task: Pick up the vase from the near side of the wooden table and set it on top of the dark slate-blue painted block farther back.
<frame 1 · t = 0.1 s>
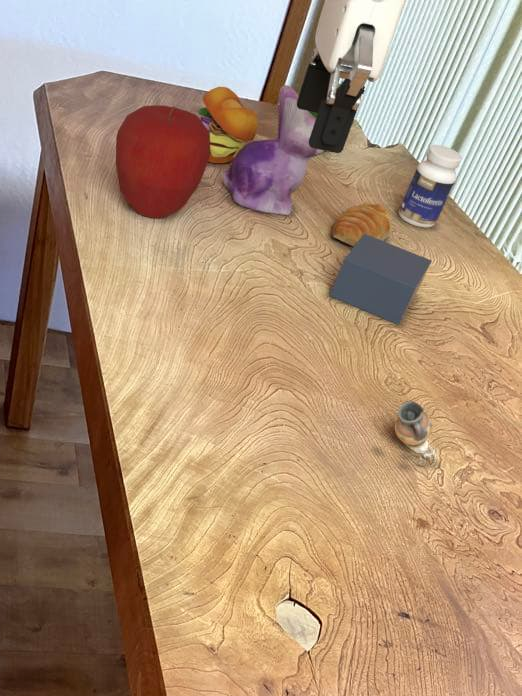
hand: (317, 129, 85), 22 cm above the table, tool pointing down, fingers open, 9 cm apart
figurine: (261, 202, 126), on the table
apple: (149, 211, 117), on the table
pastry: (358, 237, 123), on the table
bell pepper: (310, 146, 145), on the table
pill bottle: (415, 220, 131), on the table
block: (373, 296, 111), on the table
vase: (398, 452, 89), on the table
cheeseburger: (210, 154, 134), on the table
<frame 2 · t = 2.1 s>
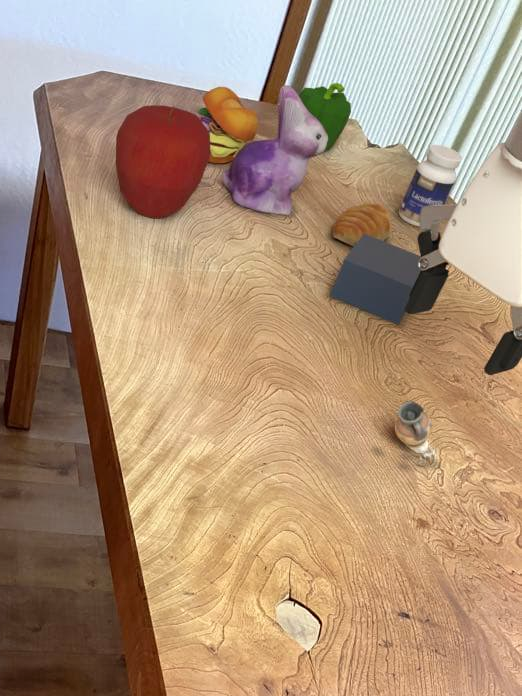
hand: (455, 340, 80), 13 cm above the table, tool pointing down, fingers open, 9 cm apart
nothing on the table moved.
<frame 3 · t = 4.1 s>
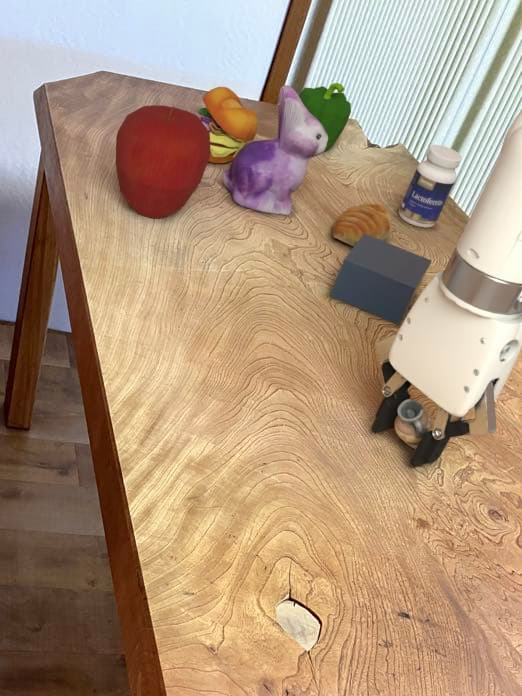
hand: (402, 444, 88), 1 cm above the table, tool pointing down, fingers closed on vase, 4 cm apart
vase: (399, 450, 89), on the table, touching gripper
everything else where it was.
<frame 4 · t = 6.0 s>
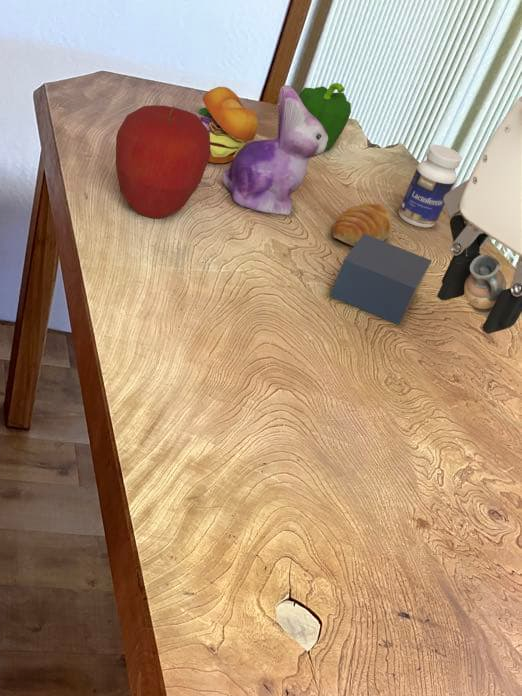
hand: (472, 310, 79), 15 cm above the table, tool pointing down, fingers closed on vase, 4 cm apart
vase: (468, 319, 80), point 15 cm above the table, touching gripper
everything else where it was.
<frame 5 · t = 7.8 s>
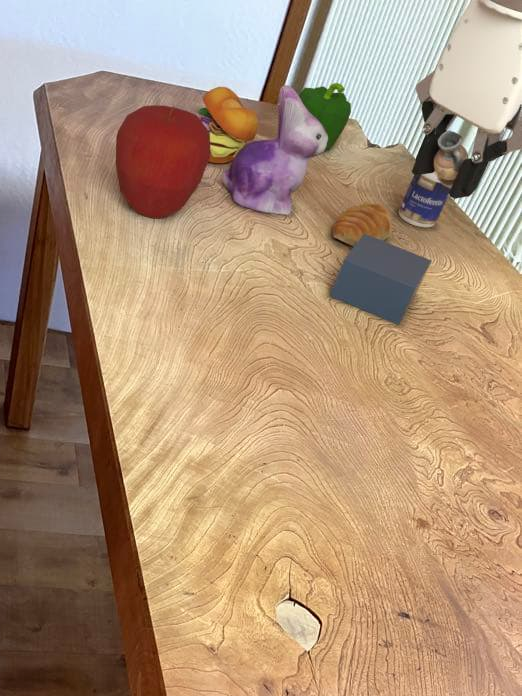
hand: (441, 182, 95), 17 cm above the table, tool pointing down, fingers closed on vase, 4 cm apart
vase: (437, 191, 96), point 16 cm above the table, touching gripper
everything else where it was.
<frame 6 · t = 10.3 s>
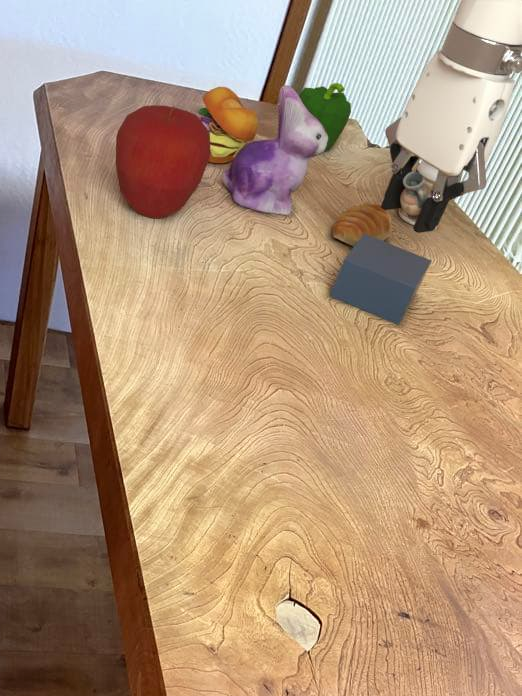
hand: (407, 217, 104), 10 cm above the table, tool pointing down, fingers closed on vase, 4 cm apart
vase: (404, 225, 105), point 9 cm above the table, touching gripper
everything else where it was.
when the fingers open (6 cm above the table, at t = 12.0 s): vase stays where it is, resting on block.
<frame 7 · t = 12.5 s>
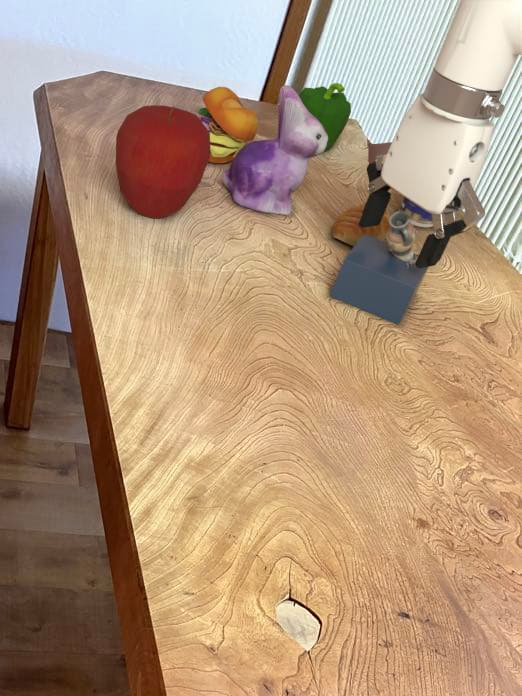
hand: (396, 245, 107), 7 cm above the table, tool pointing down, fingers open, 9 cm apart
block: (373, 296, 111), on the table, touching vase
vase: (389, 261, 108), point 5 cm above the table, touching block
everything else where it was.
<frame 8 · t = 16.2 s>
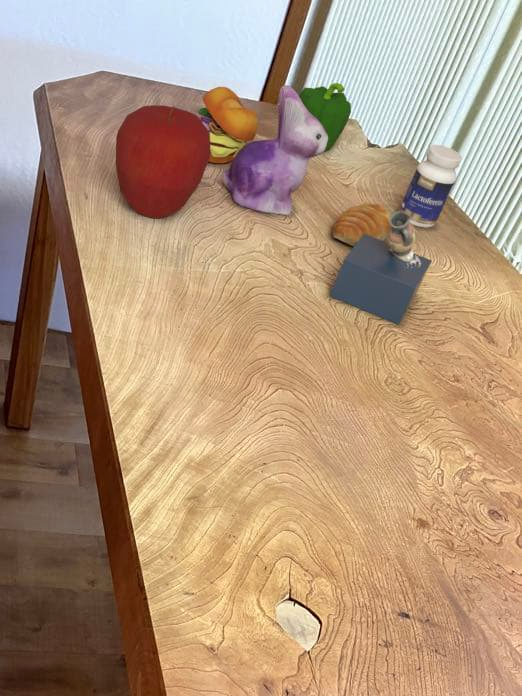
nothing on the table moved.
at the end: vase 0.1 cm off-centre on the block, point 4.8 cm above the block's base; the gripper is holding nothing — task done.
